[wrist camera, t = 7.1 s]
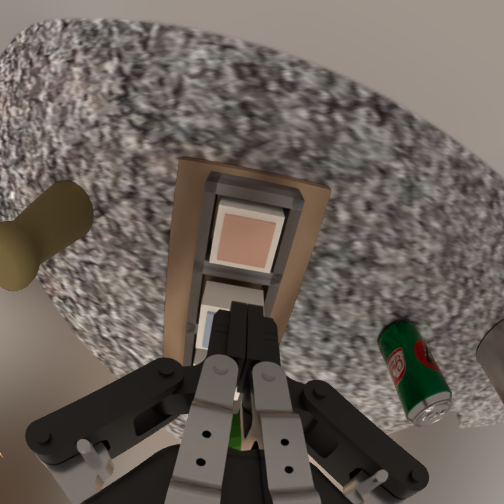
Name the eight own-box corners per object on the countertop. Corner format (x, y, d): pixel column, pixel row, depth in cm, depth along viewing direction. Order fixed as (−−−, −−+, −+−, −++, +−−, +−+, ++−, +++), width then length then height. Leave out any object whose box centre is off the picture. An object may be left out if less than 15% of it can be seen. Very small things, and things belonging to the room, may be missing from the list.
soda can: (379, 322, 31) (417, 409, 20) (418, 314, 31) (463, 392, 20) (374, 353, 33) (404, 434, 23) (410, 344, 33) (446, 420, 22)
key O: (281, 203, 23) (285, 219, 20) (267, 254, 25) (269, 275, 22) (223, 191, 22) (218, 206, 19) (214, 243, 24) (208, 264, 21)
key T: (263, 290, 24) (264, 317, 21) (251, 331, 26) (251, 359, 23) (206, 280, 23) (200, 306, 20) (200, 322, 25) (195, 350, 22)
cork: (104, 223, 26) (40, 290, 16) (65, 247, 27) (4, 312, 17) (72, 168, 23) (-8, 213, 13) (36, 199, 24) (-37, 249, 15)
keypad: (328, 186, 24) (341, 202, 20) (257, 392, 36) (257, 418, 33) (182, 156, 23) (169, 167, 19) (165, 376, 35) (158, 402, 32)
